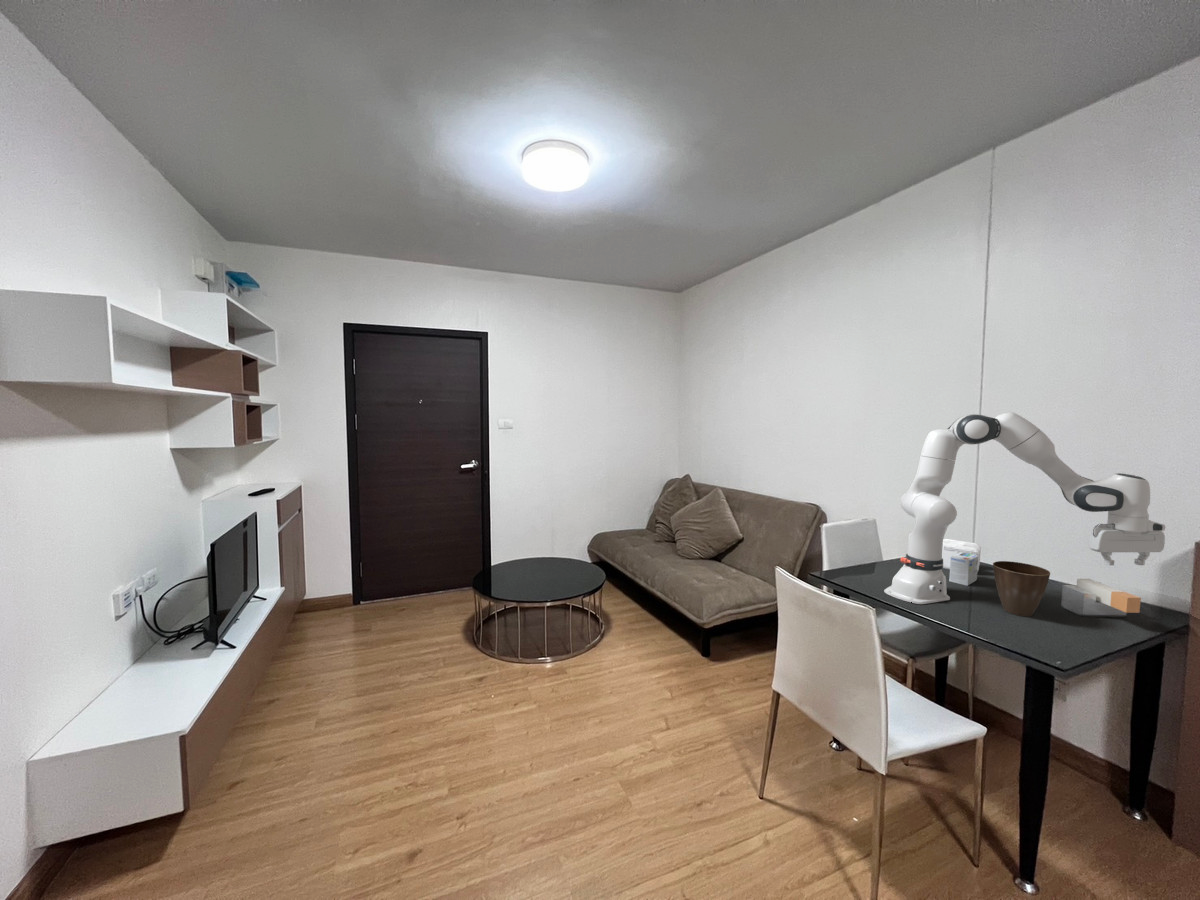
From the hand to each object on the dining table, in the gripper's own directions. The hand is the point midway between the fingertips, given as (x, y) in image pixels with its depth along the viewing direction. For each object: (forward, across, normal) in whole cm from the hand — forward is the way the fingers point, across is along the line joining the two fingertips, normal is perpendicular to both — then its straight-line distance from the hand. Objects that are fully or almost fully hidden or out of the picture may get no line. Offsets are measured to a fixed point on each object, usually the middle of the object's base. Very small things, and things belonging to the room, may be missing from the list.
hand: (1124, 564), depth 154 cm
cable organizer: (+20, -15, +53) cm, 59 cm away
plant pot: (+20, -26, +8) cm, 34 cm away
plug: (+14, 0, +4) cm, 15 cm away
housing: (+20, 0, +9) cm, 21 cm away
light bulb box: (+20, -24, +38) cm, 49 cm away
